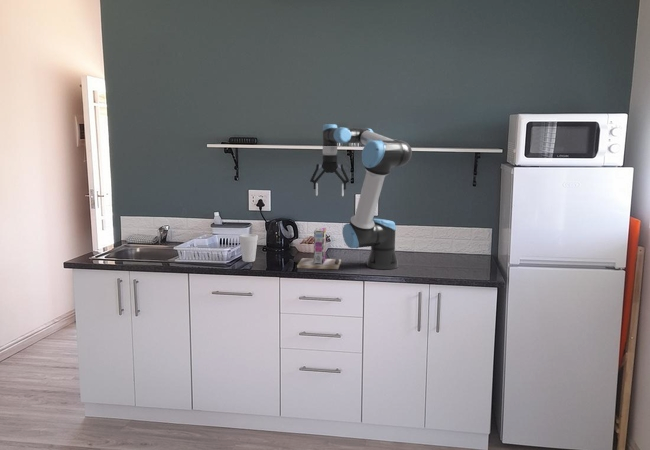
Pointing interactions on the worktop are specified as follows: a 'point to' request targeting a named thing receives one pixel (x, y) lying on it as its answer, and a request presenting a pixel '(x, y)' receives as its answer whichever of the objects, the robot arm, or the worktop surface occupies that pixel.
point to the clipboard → (326, 265)
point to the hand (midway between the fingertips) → (329, 195)
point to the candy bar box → (319, 245)
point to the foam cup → (248, 246)
